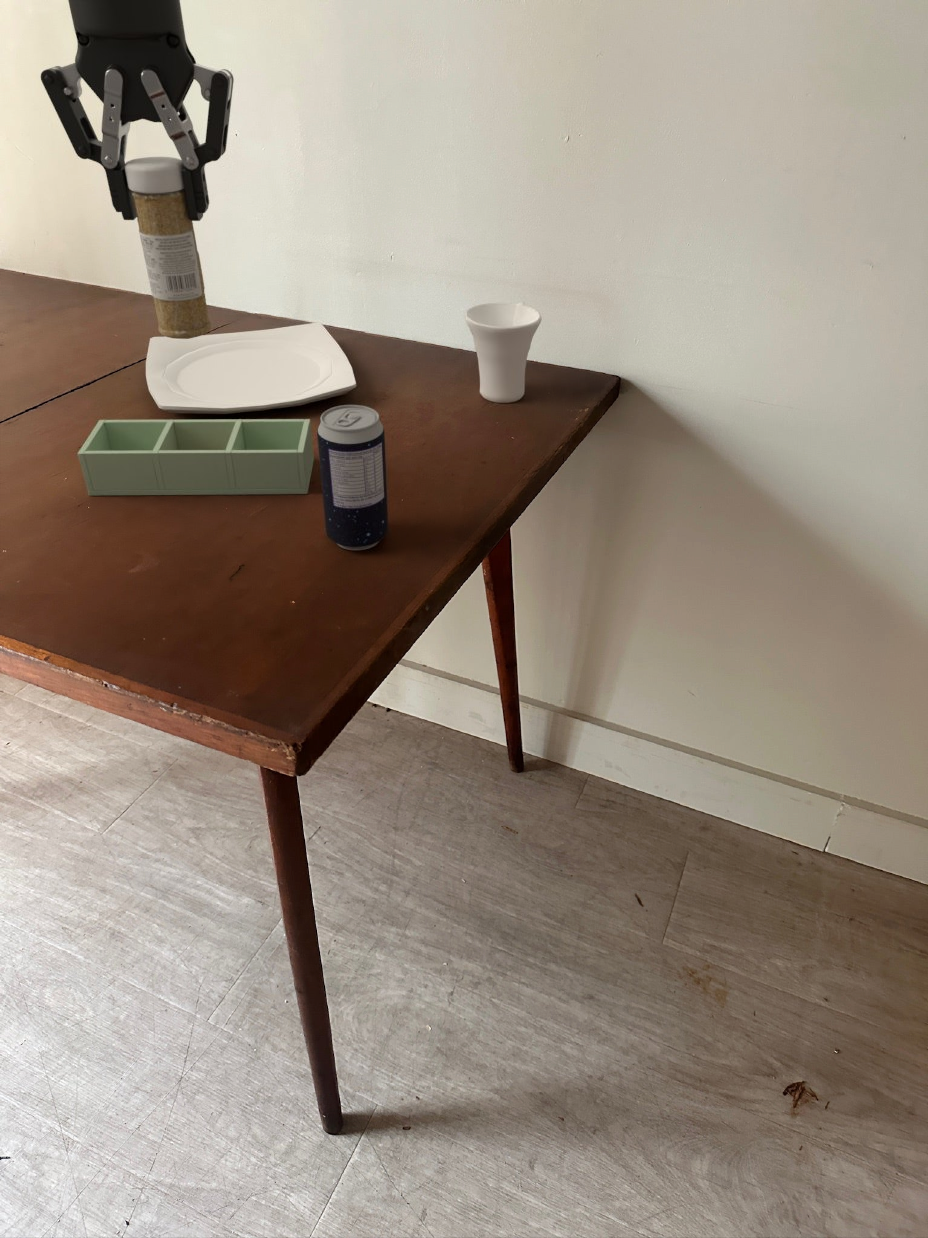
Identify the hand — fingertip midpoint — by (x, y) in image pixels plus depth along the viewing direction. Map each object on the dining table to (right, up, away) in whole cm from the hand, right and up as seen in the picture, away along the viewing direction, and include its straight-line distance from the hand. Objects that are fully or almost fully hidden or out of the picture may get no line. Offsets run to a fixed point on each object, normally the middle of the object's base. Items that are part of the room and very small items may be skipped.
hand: (164, 217), depth 70 cm
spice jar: (0, -7, +6) cm, 10 cm away
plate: (-2, -3, +38) cm, 39 cm away
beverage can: (+14, -25, +10) cm, 31 cm away
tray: (-2, -18, +19) cm, 26 cm away
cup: (+29, -5, +37) cm, 47 cm away
